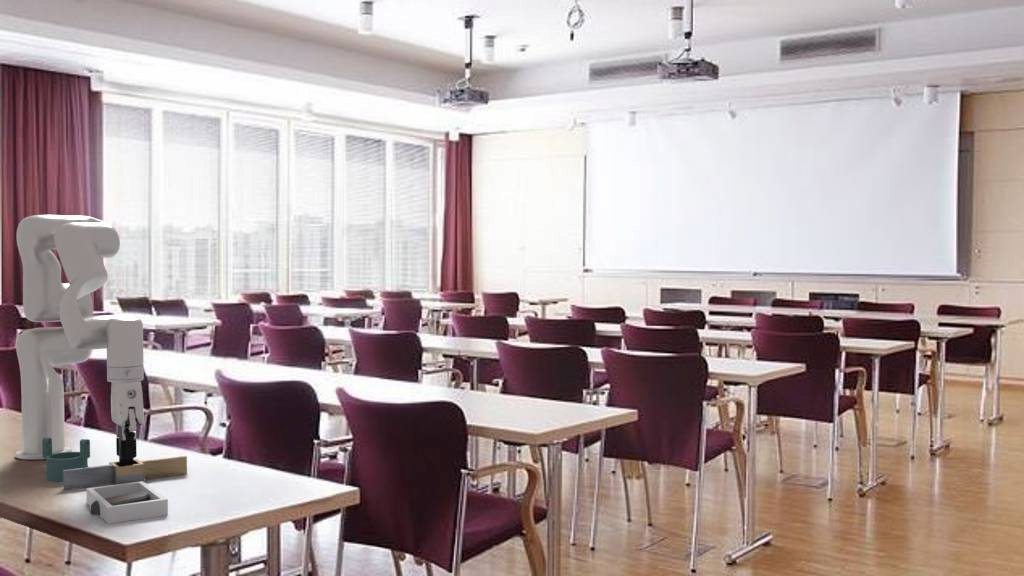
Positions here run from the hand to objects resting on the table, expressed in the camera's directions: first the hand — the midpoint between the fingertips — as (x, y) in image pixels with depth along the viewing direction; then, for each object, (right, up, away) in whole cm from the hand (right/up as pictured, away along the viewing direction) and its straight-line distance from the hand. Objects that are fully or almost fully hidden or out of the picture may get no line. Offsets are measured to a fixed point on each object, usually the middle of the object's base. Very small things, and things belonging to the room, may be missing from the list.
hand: (126, 455), depth 219 cm
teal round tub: (-14, -6, +4) cm, 16 cm away
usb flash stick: (+9, -7, -23) cm, 26 cm away
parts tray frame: (+9, -7, -23) cm, 25 cm away
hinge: (0, -6, 0) cm, 6 cm away
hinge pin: (0, -3, 0) cm, 3 cm away
